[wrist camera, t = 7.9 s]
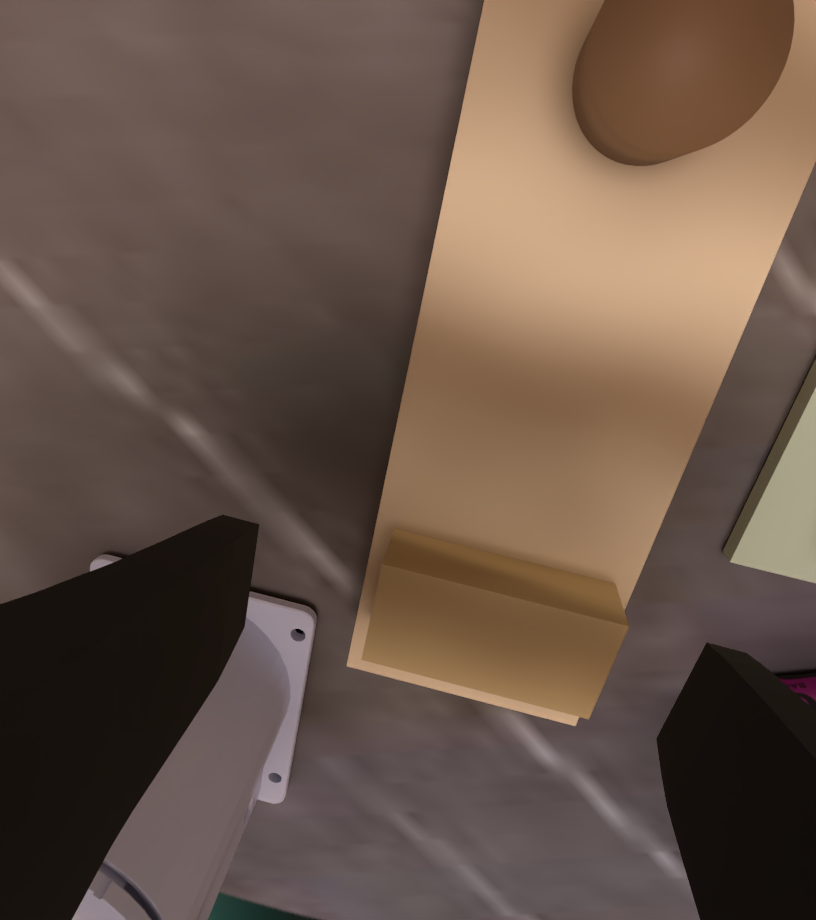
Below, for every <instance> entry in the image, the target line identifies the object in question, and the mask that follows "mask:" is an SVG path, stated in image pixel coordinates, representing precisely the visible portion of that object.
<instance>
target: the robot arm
mask: <svg viewBox="0 0 816 920" xmlns="http://www.w3.org/2000/svg"><path fill="white" fill-rule="evenodd" d="M258 529H259V524H256V523H252V522H248V521H244V520H240V519H237V518H233V517H229V516H225V515H221V516H218V517H216V518H213V519H211V520H208V521H206V522H204V523H201V524H199V525H197V526H195V527H192V528H190V529H188V530H186V531H183V532H181V533H179V534H177V535H175V536H172V537H170V538H168V539H166V540H164V541H161V542H159V543H157V544H155V545H152V546H150V547H148V548H145V549H143V550H141V551H139V552H136V553H134V554H132V555H129V556H127V557H125V558H119V557H116V556H112V555H106V554H103V555H100V556H98V557H97V558H96V559H95V560H94V561H93V562H92V563H91V565H90V572H88V573H85V574H83V575H80V576H77V577H75V578H72V579H70V580H67V581H65V582H62V583H59V584H57V585H54V586H52V587H49V588H47V589H44V590H41V591H38V592H36V593H33V594H30V595H27V596H24V597H21V598H18V599H15V600H12V601H9V602H6V603H3V604H0V920H207V919H208V917H209V914H210V912H211V910H212V907H213V905H214V902H215V900H216V898H217V895H218V893H219V890H220V888H221V886H222V883H223V881H224V878H225V876H226V873H227V871H228V869H229V866H230V864H231V861H232V859H233V857H234V854H235V852H236V849H237V847H238V844H239V842H240V840H241V837H242V835H243V832H244V830H245V828H246V825H247V823H248V820H249V818H250V816H251V813H252V811H253V808H254V806H255V803H256V801H257V799H258V800H261V801H265V802H268V803H273V804H277V803H281V802H282V801H283V800H284V798H285V796H286V793H287V790H288V784H289V778H290V773H291V767H292V761H293V755H294V750H295V744H296V738H297V732H298V727H299V721H300V715H301V710H302V704H303V698H304V692H305V687H306V681H307V675H308V670H309V664H310V658H311V652H312V647H313V641H314V635H315V629H316V624H317V616H316V614H315V612H314V611H313V610H312V609H311V608H310V607H308V606H305V605H302V604H298V603H294V602H290V601H286V600H282V599H278V598H274V597H271V596H267V595H263V594H259V593H255V592H251V591H250V586H251V579H252V571H253V564H254V557H255V550H256V543H257V536H258ZM295 629H300V630H302V631H303V632H304V633H305V634H300V633H298V632H296V630H295ZM657 745H658V752H659V760H660V767H661V774H662V780H663V785H664V791H665V797H666V802H667V807H668V811H669V814H670V818H671V822H672V825H673V829H674V832H675V836H676V839H677V843H678V846H679V849H680V853H681V856H682V860H683V863H684V867H685V870H686V873H687V877H688V880H689V883H690V887H691V890H692V893H693V897H694V900H695V903H696V907H697V910H698V914H699V917H700V920H816V711H815V710H814V709H813V708H812V707H811V706H809V705H808V704H807V703H806V702H805V701H804V700H803V699H802V698H800V697H799V696H798V695H797V694H796V693H795V692H794V691H792V690H791V689H790V688H789V687H788V686H787V685H786V684H784V683H783V682H782V681H781V680H780V679H779V678H777V677H776V676H775V675H774V674H773V673H771V672H770V671H769V670H768V669H767V668H765V667H764V666H763V665H762V664H760V663H759V662H758V661H756V660H755V659H754V658H752V657H751V656H750V655H748V654H747V653H744V652H740V651H737V650H733V649H729V648H725V647H722V646H718V645H714V644H710V643H706V645H705V647H704V649H703V651H702V653H701V655H700V656H699V658H698V660H697V662H696V664H695V666H694V668H693V670H692V672H691V674H690V676H689V678H688V679H687V681H686V683H685V685H684V687H683V689H682V691H681V693H680V695H679V697H678V699H677V700H676V702H675V704H674V706H673V708H672V710H671V712H670V714H669V716H668V718H667V720H666V721H665V723H664V725H663V727H662V729H661V731H660V733H659V735H658V737H657Z"/></svg>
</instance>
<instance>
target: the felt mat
mask: <svg viewBox="0 0 816 920" xmlns="http://www.w3.org/2000/svg"><path fill="white" fill-rule="evenodd" d="M722 552H723V553H724V554H725V556H726V557H727V559H728V560H729V562H731V563H735V564H739V565H743V566H747V567H752V568H756V569H760V570H764V571H768V572H772V573H776V574H780V575H784V576H788V577H792V578H796V579H800V580H805V581H809V582H813V583H816V359H815V361H814V363H813V365H812V367H811V369H810V371H809V373H808V375H807V377H806V379H805V381H804V384H803V386H802V388H801V390H800V392H799V394H798V396H797V398H796V400H795V402H794V404H793V406H792V408H791V410H790V413H789V415H788V417H787V419H786V421H785V423H784V425H783V427H782V429H781V431H780V433H779V435H778V437H777V439H776V442H775V444H774V446H773V448H772V450H771V452H770V454H769V456H768V458H767V460H766V462H765V464H764V466H763V468H762V471H761V473H760V475H759V477H758V479H757V481H756V483H755V485H754V487H753V489H752V491H751V493H750V495H749V498H748V500H747V502H746V504H745V506H744V508H743V510H742V512H741V514H740V516H739V518H738V520H737V522H736V524H735V527H734V529H733V531H732V533H731V535H730V537H729V539H728V541H727V543H726V545H725V547H724V549H723V551H722Z"/></svg>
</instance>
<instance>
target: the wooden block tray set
mask: <svg viewBox="0 0 816 920" xmlns="http://www.w3.org/2000/svg"><path fill="white" fill-rule="evenodd" d="M815 162H816V0H484V4H483V9H482V14H481V19H480V23H479V28H478V33H477V38H476V43H475V48H474V52H473V57H472V62H471V67H470V72H469V77H468V81H467V86H466V91H465V96H464V101H463V106H462V110H461V115H460V120H459V125H458V130H457V135H456V139H455V144H454V149H453V154H452V159H451V164H450V168H449V173H448V178H447V183H446V188H445V193H444V197H443V202H442V207H441V212H440V217H439V222H438V226H437V231H436V236H435V241H434V246H433V251H432V255H431V260H430V265H429V270H428V275H427V280H426V284H425V289H424V294H423V299H422V304H421V309H420V313H419V318H418V323H417V328H416V333H415V338H414V342H413V347H412V352H411V357H410V362H409V367H408V371H407V376H406V381H405V386H404V391H403V396H402V400H401V405H400V410H399V415H398V420H397V425H396V429H395V434H394V439H393V444H392V449H391V454H390V458H389V463H388V468H387V473H386V478H385V483H384V487H383V492H382V497H381V502H380V507H379V512H378V516H377V521H376V526H375V531H374V536H373V541H372V545H371V550H370V555H369V560H368V565H367V570H366V574H365V579H364V584H363V589H362V594H361V599H360V603H359V608H358V613H357V618H356V623H355V628H354V632H353V637H352V642H351V647H350V652H349V657H348V661H347V666H348V667H352V668H356V669H359V670H363V671H367V672H371V673H375V674H378V675H382V676H386V677H390V678H394V679H397V680H401V681H405V682H409V683H413V684H417V685H420V686H424V687H428V688H432V689H436V690H439V691H443V692H447V693H451V694H455V695H458V696H462V697H466V698H470V699H474V700H478V701H481V702H485V703H489V704H493V705H497V706H500V707H504V708H508V709H512V710H516V711H519V712H523V713H527V714H531V715H535V716H539V717H542V718H546V719H550V720H554V721H558V722H561V723H565V724H569V725H573V726H576V723H577V721H578V719H579V717H582V718H585V719H589V718H590V715H591V713H592V711H593V708H594V706H595V704H596V702H597V699H598V697H599V695H600V692H601V690H602V688H603V685H604V683H605V681H606V679H607V676H608V674H609V672H610V669H611V667H612V665H613V662H614V660H615V658H616V656H617V653H618V651H619V649H620V646H621V644H622V642H623V639H624V637H625V635H626V633H627V630H628V628H629V624H628V621H627V618H626V615H625V612H624V611H625V608H626V606H627V604H628V601H629V599H630V596H631V594H632V592H633V589H634V587H635V585H636V582H637V580H638V578H639V575H640V573H641V571H642V568H643V566H644V564H645V561H646V559H647V557H648V554H649V552H650V549H651V547H652V545H653V542H654V540H655V538H656V535H657V533H658V531H659V528H660V526H661V524H662V521H663V519H664V517H665V514H666V512H667V510H668V507H669V505H670V502H671V500H672V498H673V495H674V493H675V491H676V488H677V486H678V484H679V481H680V479H681V477H682V474H683V472H684V470H685V467H686V465H687V463H688V460H689V458H690V455H691V453H692V451H693V448H694V446H695V444H696V441H697V439H698V437H699V434H700V432H701V430H702V427H703V425H704V423H705V420H706V418H707V416H708V413H709V411H710V408H711V406H712V404H713V401H714V399H715V397H716V394H717V392H718V390H719V387H720V385H721V383H722V380H723V378H724V376H725V373H726V371H727V369H728V366H729V364H730V361H731V359H732V357H733V354H734V352H735V350H736V347H737V345H738V343H739V340H740V338H741V336H742V333H743V331H744V329H745V326H746V324H747V322H748V319H749V317H750V314H751V312H752V310H753V307H754V305H755V303H756V300H757V298H758V296H759V293H760V291H761V289H762V286H763V284H764V282H765V279H766V277H767V274H768V272H769V270H770V267H771V265H772V263H773V260H774V258H775V256H776V253H777V251H778V249H779V246H780V244H781V242H782V239H783V237H784V235H785V232H786V230H787V227H788V225H789V223H790V220H791V218H792V216H793V213H794V211H795V209H796V206H797V204H798V202H799V199H800V197H801V195H802V192H803V190H804V188H805V185H806V183H807V180H808V178H809V176H810V173H811V171H812V169H813V166H814V164H815Z"/></svg>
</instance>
